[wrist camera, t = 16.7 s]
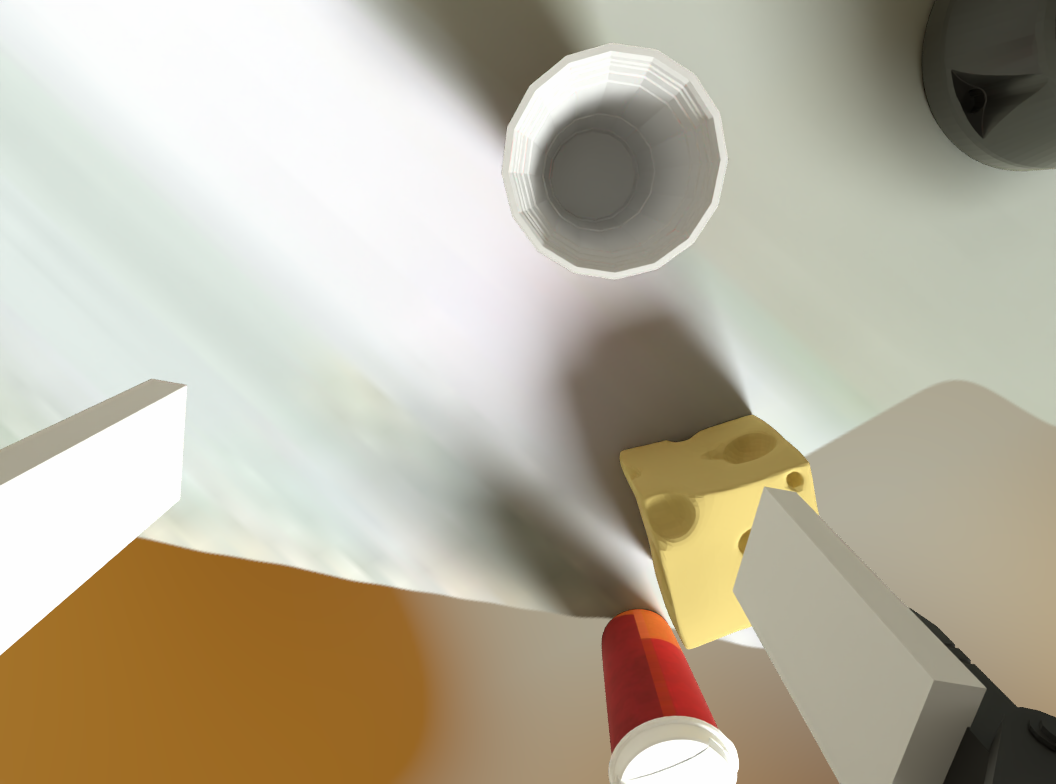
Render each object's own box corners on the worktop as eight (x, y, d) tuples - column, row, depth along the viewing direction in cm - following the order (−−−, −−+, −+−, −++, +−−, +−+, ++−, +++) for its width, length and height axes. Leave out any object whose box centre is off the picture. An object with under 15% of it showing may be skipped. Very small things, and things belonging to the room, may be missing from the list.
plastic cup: (500, 90, 42) (493, 46, 31) (673, 80, 42) (731, 33, 31) (510, 266, 45) (507, 286, 34) (672, 257, 45) (725, 274, 34)
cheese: (615, 449, 49) (638, 508, 39) (761, 405, 48) (821, 455, 39) (651, 572, 52) (682, 656, 42) (790, 532, 51) (854, 608, 41)
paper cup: (595, 688, 54) (621, 848, 41) (580, 605, 52) (602, 744, 39) (693, 673, 54) (751, 829, 40) (681, 588, 52) (739, 722, 38)
